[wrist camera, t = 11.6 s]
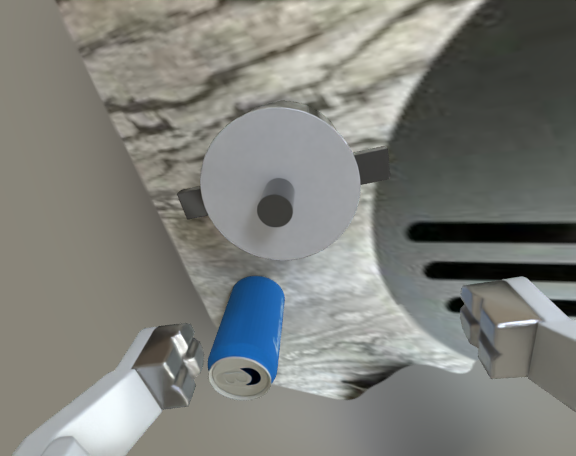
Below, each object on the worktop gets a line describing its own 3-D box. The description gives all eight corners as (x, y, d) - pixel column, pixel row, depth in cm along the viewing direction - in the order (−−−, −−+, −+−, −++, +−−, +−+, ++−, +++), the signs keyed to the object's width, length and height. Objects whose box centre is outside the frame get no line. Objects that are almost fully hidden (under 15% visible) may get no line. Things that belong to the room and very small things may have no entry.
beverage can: (289, 310, 39) (282, 401, 28) (240, 316, 40) (215, 405, 29) (279, 268, 36) (266, 351, 25) (226, 275, 37) (193, 358, 26)
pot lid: (180, 128, 23) (152, 140, 19) (345, 86, 21) (354, 90, 17) (231, 264, 28) (218, 296, 24) (367, 240, 26) (378, 271, 22)
